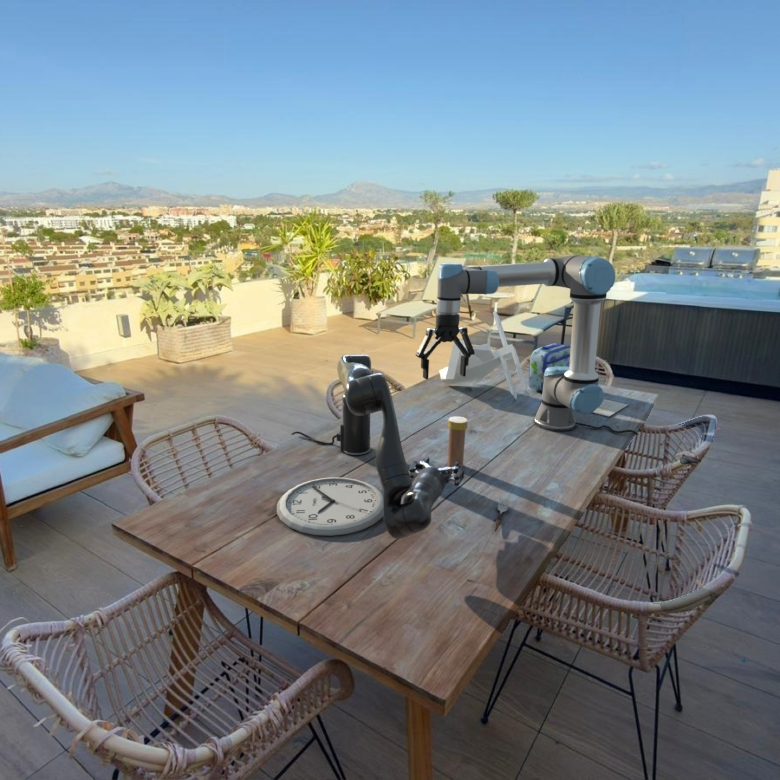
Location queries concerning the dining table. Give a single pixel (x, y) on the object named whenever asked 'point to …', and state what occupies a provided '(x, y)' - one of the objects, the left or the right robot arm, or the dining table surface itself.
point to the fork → (501, 509)
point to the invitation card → (609, 407)
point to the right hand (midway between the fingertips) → (444, 376)
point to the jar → (456, 447)
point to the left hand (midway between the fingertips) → (442, 462)
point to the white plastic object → (484, 363)
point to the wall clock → (331, 506)
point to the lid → (457, 423)
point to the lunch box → (547, 362)
